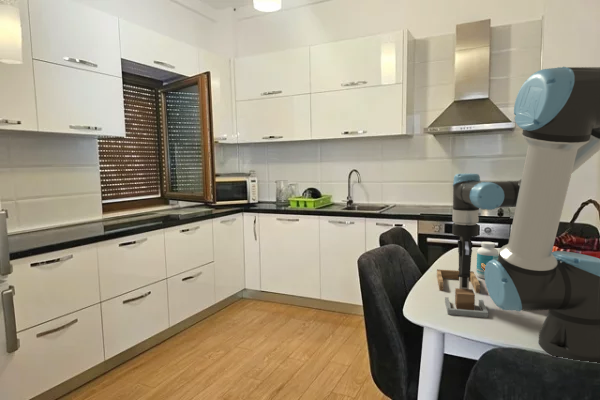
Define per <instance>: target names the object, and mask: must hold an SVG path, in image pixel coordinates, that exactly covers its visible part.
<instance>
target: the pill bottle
mask: <svg viewBox="0 0 600 400" xmlns="http://www.w3.org/2000/svg"><path fill="white" fill-rule="evenodd" d="M480 246H481V247H479V248H478V249H477V251H476V272H475V273H476V274H475V275H476V277H477V278H479V279H483V280H485V276H484V270H483V269H482V268H481V263H484V264H485V265H486V264H487V263H488V262H489V261H491V260H498V256H499V250H498V249H497V248H495V247H496V243H495V242H492V241H482V242H480Z"/></svg>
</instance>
